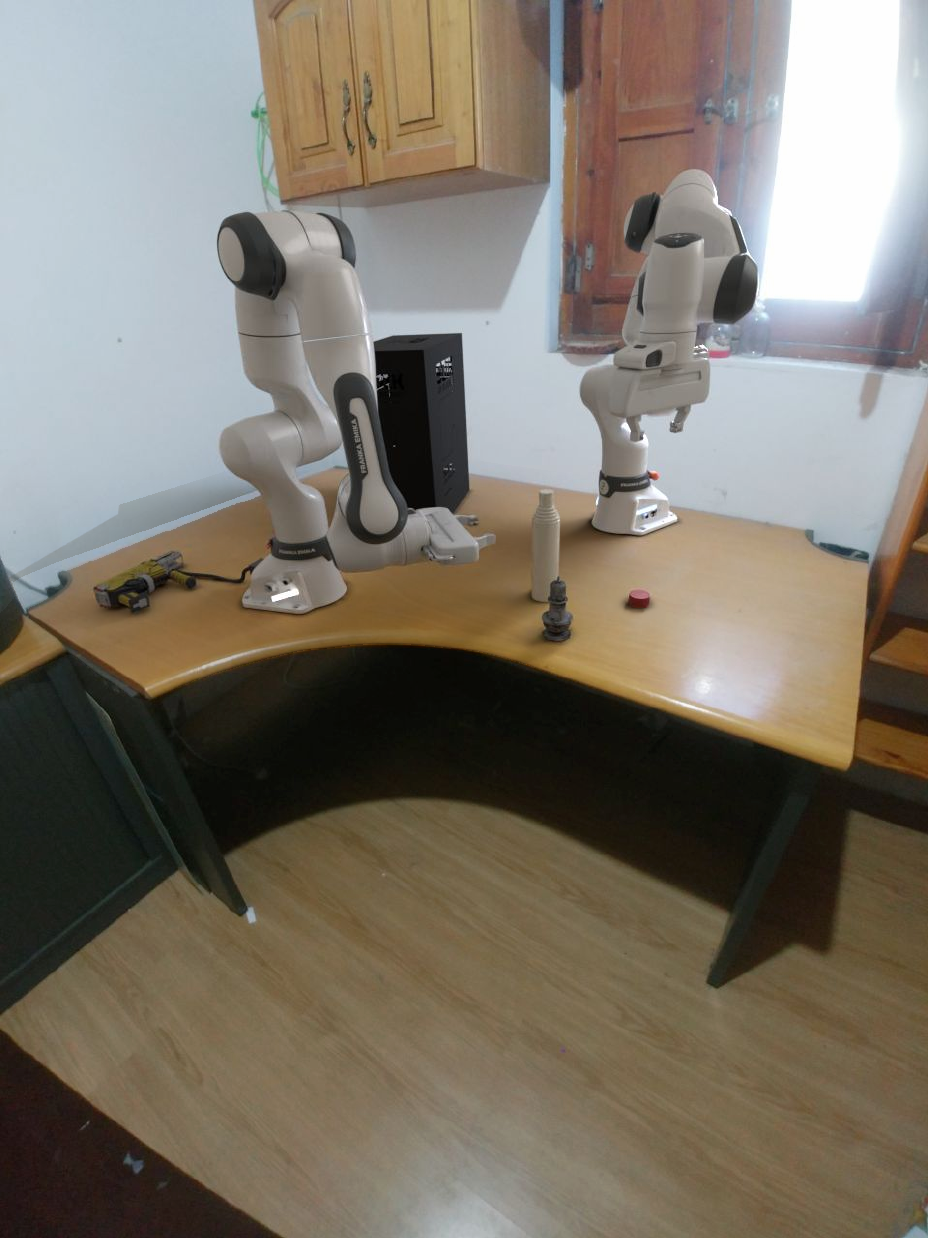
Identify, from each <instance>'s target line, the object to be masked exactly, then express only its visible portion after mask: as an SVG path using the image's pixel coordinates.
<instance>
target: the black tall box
mask: <svg viewBox="0 0 928 1238" xmlns="http://www.w3.org/2000/svg"><path fill="white" fill-rule="evenodd" d="M373 342H374V352H375V363H376V386H377V403H378V414H379V420H380V425H381V431H382V436H383V441H384V447H385V452H386V457H387V462H388V467H389V472H390V475H391V478H392V480H393V482H394V484H395V485H396V487H397V489H398V490H399V491H400V493H401V494H402V496H403V498H404V499H405V502H406V504H407V508H412V509H414V511H415V510H417V509H422V508H432V507H444V508H447V509H448V510H449V511H450V512H451V513H452V514H453V515H454V513H455V512H456V511H457V509H458V508H459V506H460V505H461V503H462V502H463V500H464V499H465V498H466V496H467V494H468V493H469V492H470V475H469V474H470V471H469V452H468V430H467V428H468V427H467V412H466V411H467V410H466V409H467V408H466V407H467V406H466V389H465V387H466V386H465V369H464V368H465V367H464V348H463V346H464V345H463V332H452V333H450V332H448V333H424V334H423V333H421V334H419V333H418V334H396V335H395V334H393V335H390V336H387V337H383V338H381V339H377V340H373ZM442 362H444V364H443V363H442ZM438 364H439V365H438Z"/></svg>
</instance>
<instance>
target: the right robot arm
mask: <svg viewBox="0 0 928 1238" xmlns="http://www.w3.org/2000/svg"><path fill="white" fill-rule="evenodd" d="M623 238H624V240H623V243H624V244H625V247H626V248H627V249H628V250H629V251H631V252H634V253H637V254H640V253H641V254H645V255H646V256H647V257H646V258H645V259H644V261H643V263H642V265H641V268H640V269H639V272H638V275H637V277H636V280H635V282H634V285H633V289H632V290H631V295H630V299H629V302H628V306H627V310H626V313H625V317H624V322H623V325H622V329H621V335H622V339H623V342H624V343H625V345H626V346H624V347H622V348H621V349H619V350H617V351H616V352H614V355H613V361H612V363H613V364H612V363H611V364H610V363H609V364H608V363H607V364H603V365H597V366H592V367H590V368H589V369H587V371H585V372H584V374H583V376H582V378H581V380H580V382H579V388H578V389H579V390H578V391H579V398H580V401H581V403H582V404H583V406H584V407H585V408H586V409H587V410H588V411H589V412H590V414H591V415H592V416H593V418H594V420H595V422H596V424H597V426H598V430H599V433H600V438H601V468H600V470H599V474H598V492H599V493H598V495H597V498H596V502H595V505H596V507H595V511H594V514H593V517H592V520H591V525H592V526H593V527H594V528H595V529H597V530H599V531H601V532H605V533H611V534H623V535H625V534H626V535H632V536H633V535H634V536H645V535H646V534H650V533H652V532H654V531H657V530H660V529H662V528H665V527H668V526H670V525H672V524H675V523H677V522H678V516H677V515H676V514H675V513H674V512H672V511H670V503H669V502H670V501H669V498H668V497H667V496H666V495H665V494H664V493H663V492H661V491H660V490H659V489H658V488H656V487H655V486H654V485H652V483H651V480H653V481H658V479H659V478H660V473H659V472H657V471H654V470H651V471H649V470H648V469H647V466H648V458H649V457H648V455H649V447H650V443H649V440H648V437H647V436H646V434H645V430H643V429H641V427H640V423H639V422H641V421H642V417H643V418H662V417H669V416H672V415H674V414H675V413H676V414H675V417H674V419H673V420H672V421H670V423H669V432H670V433H673V434H678V433H682V432H683V430H684V425H685V424H684V423H685V422H686V420H687V418H688V416H689V415H690V413H691V409H692V406H694V405H697V404H703V403H705V402H706V400H707V399H708V397H709V394H710V386H711V385H710V384H711V364H710V363H711V362H710V352H709V350H708V348H706V347H705V345H697V346H696V341H697V333H698V324H711V323H713V324H717V325H718V324H719V325H720V324H721V325H734V324H736V323H738V322H739V321H740V320H741V319H743V318H744V317H745V316H747V315H748V314H749V313H750V312H751V311H752V310H753V307H754V305H755V303H756V300H757V297H758V292H759V288H760V287H759V286H760V274H759V271H758V270H759V269H758V265H757V262H756V261H755V260H754V258H753V257H752V256H751V255H750V253H749V250H748V247H747V243H746V240H745V237H744V234H743V231H742V228H741V226H740V224H739V222H738V219H737V218H736V217H735V216H733V215H732V212H731V211H730V210H729V209H727V208H725V207H723V206H721V205H720V204H719V203H718V195H717V189H716V186H715V183H714V182H713V179H712V177H711V176H710V175H709V174H708V173H707V172H706V171H704V170H702V169H698V168H691V169H687V170H684V171H682V172H680V173H679V174H677V175H676V176H675V177H674V178H673V179H672V181H670V183H669V184H668V186H667V188H666V189H665V191H664V192H663V194H662V195H661V194H659V193H657V191H653V192H652V193H649V194H644V195H641V196H640V197H638V198H636V199H635V200H634V203H633V204H632V205H631V206H630V208H629V210H628V212H627V213H626V216H625V219H624V224H623Z"/></svg>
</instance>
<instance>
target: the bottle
mask: <svg viewBox="0 0 928 1238" xmlns="http://www.w3.org/2000/svg"><path fill="white" fill-rule="evenodd" d="M554 497H555V491H554V490H553V489H549V488H544V489H540V490H539V492H538V505H537V507H536V508H535V510H534V513H533V514H532V518H531V582H530V583H531V584H530V585H531V588H530V589H531V593H530V594H531V595H530V596H531V598H532V599H533V600H534V601H537V602H543V603H548V602H549V601H548V597H549V596H550V584H551V582H552V581H554V580H557V577H558V576H559V575H560V574H559V573H560V571H559V570H560V543H561V542H560V541H561V539H560V536H561V516H560V514H559V511H558V510H557V508H556V506H555V504H554ZM559 577H560V576H559Z"/></svg>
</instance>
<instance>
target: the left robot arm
mask: <svg viewBox="0 0 928 1238" xmlns="http://www.w3.org/2000/svg"><path fill="white" fill-rule="evenodd" d="M216 250H217V257H218V260H219V264H220V266H221V270H222V271H223V273H224V275H225V277H226V278H227V279H228V281H230V282H231V284H232V285H233V286H234V310H235V312H234V313H235V323H236V329H237V336H238V342H239V348H240V349H239V350H240V357H241V363H242V369H243V374H244V376H245V378H246V379H247V380H248V381H249V383H250V384H251V385H252V386H253V387H255V388H256V389H258V390H259V391H261V392H264V393H267V394H269V395H270V397H271V401H272V404H273V411H270V412H266V413H261V414H257V415H253V416H248V417H245V418H242V419H240V420H238V421H236V422H234V423H232V424H230V425H229V426H227V427H225V428H223V429H222V431H221V433H220V435H219V440H218V450H219V455H220V458H221V461H222V463H223V464H224V466H225V468H227V470H228V471H229V472H230V473H232V474H233V475H234V476H236V477H237V478H239V479H240V480H244V481H245V482H247V483H249V484H251V485H252V486H253V487H254V488H255V489H256V490H257V491H258V492H259V494H260V495H261V497H262V498H263V500H264V502H265V505H266V506H267V509H268V512H269V517H270V520H271V523H272V527H273V532H272V536H271V537H269V539H268V541H267V543H266V544H265V547H266V548H265V549H266V550H267V551H268V550H269V549H270V553H268V554H267V555H266V556H265V557H264V558H263V557H260V558H258V559H257V560H255V561H253V562H252V563H250V564H248V565H247V567H244V568H243V569H242V570H241V574H240V577H239V578H237V579H232V578H227V577H224V576H220V575H217V574H211V573H202V572H201V573H200V572H190V571H183V570H179V569H172V570H171V571H177V572H179V573H182V574H184V575H187V576H189V577H193V578H206V579H214V580H219V581H222V582H226V583H233V584H234V583H235V584H240V583H242V582H244V581H245V578H246V574H247V573H248V572H249V574H250V578H249V587H248V588H247V589H246V591H245V592H244V594H243V595H242V598H241V604H242V606H243V608H246V609H247V608H248V609H255V610H261V611H262V610H263V611H270V612H279V613H287V614H294V615H295V614H296V615H303V614H306V613H308V612H311V611H312V610H315V609H317V608H320V607H321V608H322V607H324V606H327V605H331V604H333V603H334V602H336V601H338V600H340V599H341V598H342V597H344V596H345V595H346V593H347V591H348V587H347V586H348V585H346V582H345V580H344V579H343V576H342V573H344V574H345V573H346V574H359V573H369V572H376V571H382V570H384V569H386V568H389V567H393V566H397V567H407V566H412V565H418V564H423V563H429V562H436V563H437V564H438V565H440V566H458V565H467V564H474V563H476V562H477V561H478V560H479V558H480V550H482V549H483V548H485V547H487V546H490V545H495V544H496V542H497V541H496V539H497V538H496V537H497V536H496V535H495V533H493V532H486V533H485V532H484V533H483V535H481V536H479V537H478V536H472V535H471V534H470V532H469V531H468V530H467V529H466V528H465V527H466V526H467V527H470V528H473V527H478V526H479V518H478V517H477V515H476V514H472V515H466V514H465V515H464V514H454V513H453V514H452V513H451V512H450V511H449V510H448V509H447V508H444V507H432V508H422V509H417V510H415V511H414V509H412V508H407V504H406V502H405V499H404V498H403V496H402V494H401V493H400V491H399V490H398V489H397V487H396V485H395V484H394V482H393V480H392V478H391V475H390V472H389V467H388V462H387V457H386V452H385V447H384V441H383V436H382V431H381V425H380V420H379V414H378V403H377V390H378V389H377V386H376V377H377V376H376V363H375V352H374V336H373V331H372V330H373V329H372V325H371V318H370V315H369V309H368V306H367V302H366V297H365V295H364V292H363V288H362V285H361V282H360V280H359V277H358V273H357V271H356V270H355V267H356V263H357V251H356V250H357V249H356V244H355V240H354V237H353V234H352V232H351V230H350V228H349V227H348V225H347V224H346V223H345V222H344V221H343V220H341V219H340V218H338V217H336V216H333V215H330V214H328V213H324V212H317V213H314V212H307V211H301V210H291V209H290V210H289V209H283V210H279V211H278V210H277V211H264V212H263V211H262V212H261V211H260V212H255V213H253V212H250V211H242V212H238V213H234V214H231V215H229V216H227V217H225V218H224V219H223V220H222V221H221V223H220V225H219V229H218V231H217V236H216ZM309 372H310V373H309ZM309 374H310V375H309ZM310 376H311V378H310ZM311 379H312V380H313V382H314V385H315V387H316V389H317V391H318V392H319V394H320V396H321V397H322V398H323V400H324V401H325V402H326V404H325V403H324V402H323V401H322V400H321V398H320V397H319V395H318V394H317V392H316V390H315V388H314V385H313V384H312V381H311ZM341 446H342V447H343V450H344V451H343V452H344V456H345V461H346V466H347V471H348V473H347V474H346V475H344V477H343V478H342V480H341V481H340V483H339V486H338V488H337V489H338V490H337V498H336V505H335V509H334V515H333V518H332V521H331V524H330V525H329V520H328V514H327V509H326V502H325V499H324V496H323V495H322V493H321V492H320V491H319V490H318V489H316V488H315V487H314V486H311V485H309V484H305V483H301V481H300V479H299V477H298V474H297V468H300V467H303V466H306V465H309V464H312V463H315V462H318V461H322V460H324V459H326V458H328V456H330V455H332V454H334V453H335V452H336V451H338V450H339V449H340V448H341ZM145 562H146V561H143V562H141V563H140V564H139V565H141V564H143V563H145ZM171 571H170V572H171Z"/></svg>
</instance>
